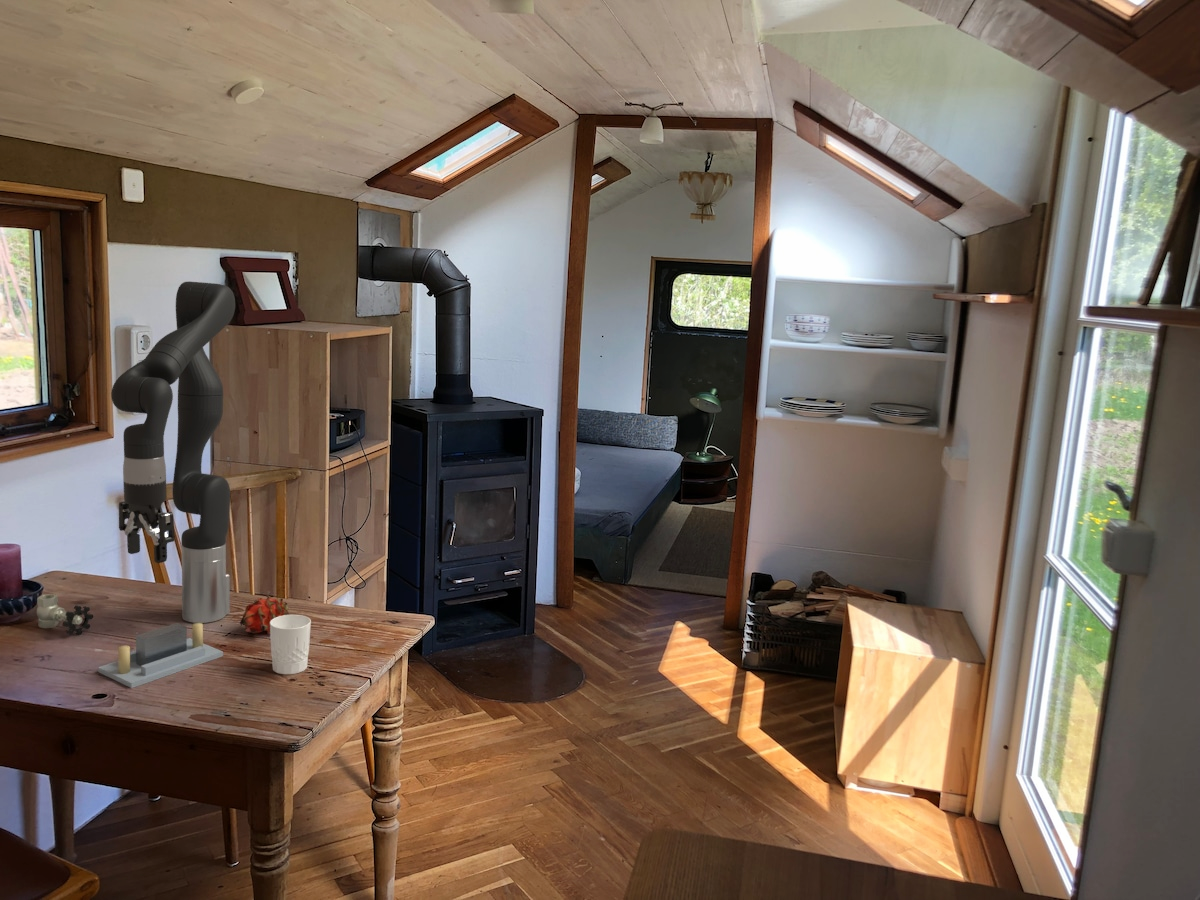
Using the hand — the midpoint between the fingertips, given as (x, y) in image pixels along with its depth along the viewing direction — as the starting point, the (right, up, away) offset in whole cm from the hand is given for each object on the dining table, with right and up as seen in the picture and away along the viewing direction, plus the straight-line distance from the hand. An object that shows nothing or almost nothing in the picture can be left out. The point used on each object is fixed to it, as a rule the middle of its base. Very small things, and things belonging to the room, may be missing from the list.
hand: (147, 557), depth 186 cm
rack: (+2, -22, +2) cm, 22 cm away
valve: (-26, -18, +16) cm, 35 cm away
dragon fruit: (+15, -19, +22) cm, 33 cm away
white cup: (+27, -23, +5) cm, 36 cm away
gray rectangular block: (+2, -21, +2) cm, 21 cm away
